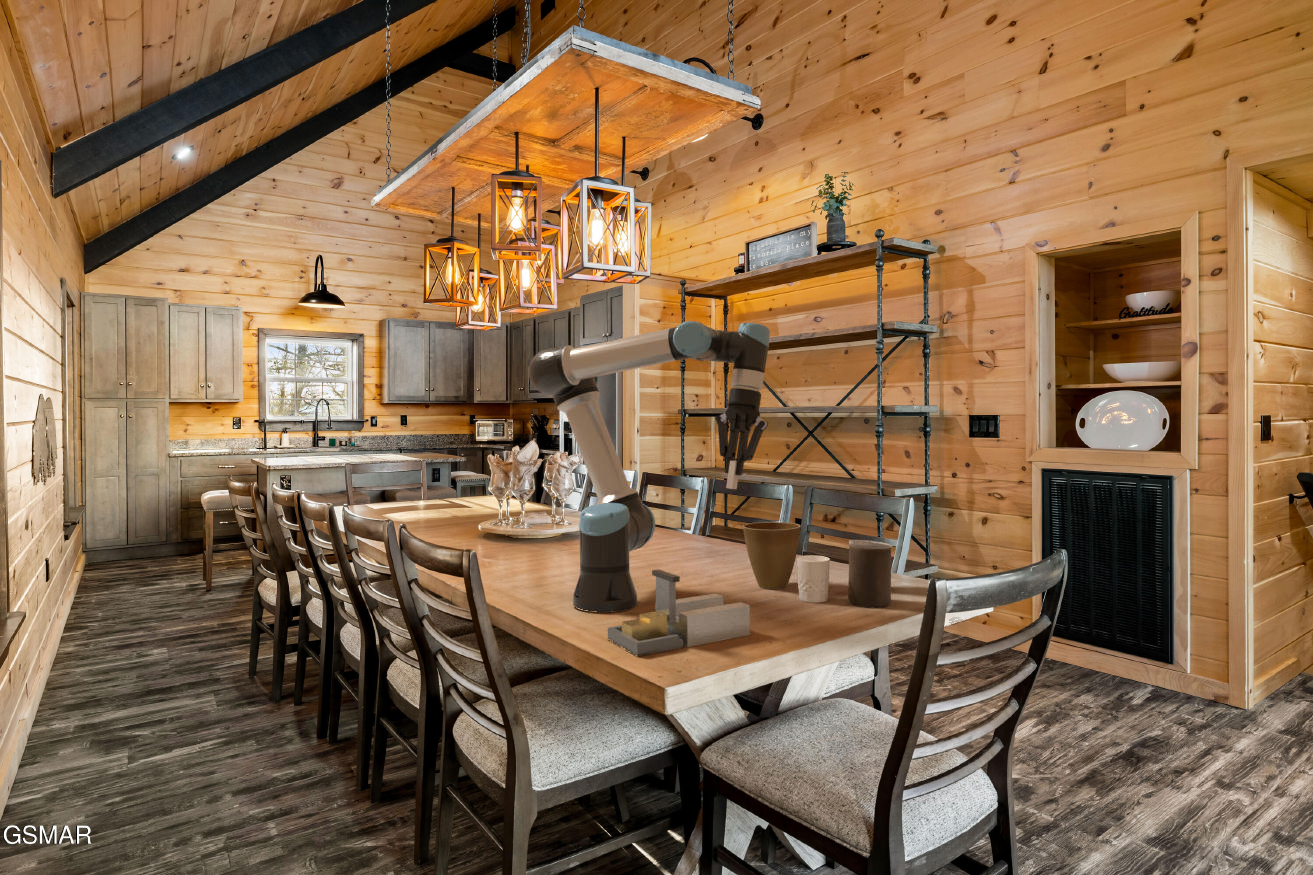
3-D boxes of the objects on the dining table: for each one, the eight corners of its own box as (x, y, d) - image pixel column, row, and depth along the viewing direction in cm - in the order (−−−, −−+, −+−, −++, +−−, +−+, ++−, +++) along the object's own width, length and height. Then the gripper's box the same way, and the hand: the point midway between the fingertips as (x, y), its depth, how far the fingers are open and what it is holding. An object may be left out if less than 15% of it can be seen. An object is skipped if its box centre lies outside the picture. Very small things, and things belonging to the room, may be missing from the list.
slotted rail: (715, 621, 157) (715, 593, 157) (749, 634, 147) (749, 605, 147) (655, 631, 150) (655, 602, 149) (687, 647, 139) (687, 615, 139)
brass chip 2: (657, 630, 145) (657, 610, 145) (668, 635, 142) (667, 615, 142) (640, 634, 143) (639, 614, 143) (650, 639, 140) (649, 618, 140)
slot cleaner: (658, 613, 148) (658, 569, 147) (680, 622, 141) (679, 576, 140) (652, 614, 147) (652, 570, 147) (673, 623, 140) (673, 577, 140)
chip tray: (651, 632, 149) (651, 620, 149) (683, 647, 139) (682, 634, 139) (607, 640, 144) (607, 627, 144) (637, 656, 134) (637, 643, 134)
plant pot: (793, 579, 198) (792, 520, 197) (807, 592, 183) (807, 528, 183) (738, 580, 197) (738, 521, 197) (748, 593, 182) (748, 529, 182)
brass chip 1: (639, 618, 143) (621, 621, 141) (649, 623, 140) (631, 626, 137) (639, 638, 143) (621, 642, 141) (650, 644, 140) (631, 647, 138)
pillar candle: (866, 609, 165) (867, 544, 165) (839, 600, 174) (840, 537, 174) (900, 605, 169) (901, 541, 169) (872, 596, 178) (872, 535, 178)
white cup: (830, 604, 171) (830, 561, 171) (796, 602, 172) (796, 560, 172) (829, 596, 179) (829, 555, 178) (796, 595, 180) (796, 554, 180)
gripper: (777, 394, 171) (763, 493, 171) (727, 389, 178) (713, 484, 178) (765, 389, 165) (750, 492, 165) (714, 385, 172) (699, 483, 171)
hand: (731, 488), depth 171 cm, fingers closed
